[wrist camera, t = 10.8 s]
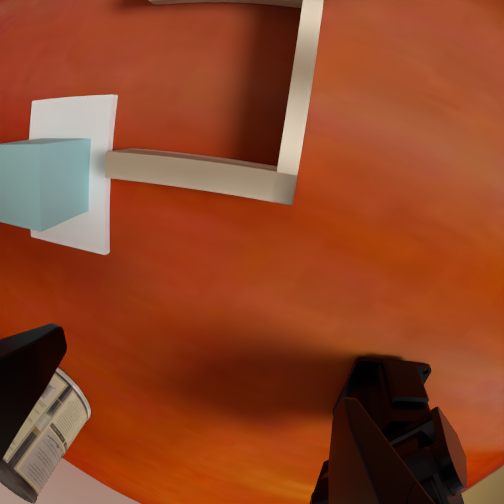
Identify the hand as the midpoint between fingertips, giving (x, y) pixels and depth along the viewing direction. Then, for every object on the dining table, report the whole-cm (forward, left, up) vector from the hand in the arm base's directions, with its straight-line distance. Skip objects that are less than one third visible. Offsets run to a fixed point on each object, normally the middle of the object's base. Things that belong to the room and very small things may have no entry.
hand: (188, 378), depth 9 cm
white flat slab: (+3, +14, -12) cm, 19 cm away
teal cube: (+3, +14, -11) cm, 18 cm away
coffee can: (-22, +20, -12) cm, 32 cm away
